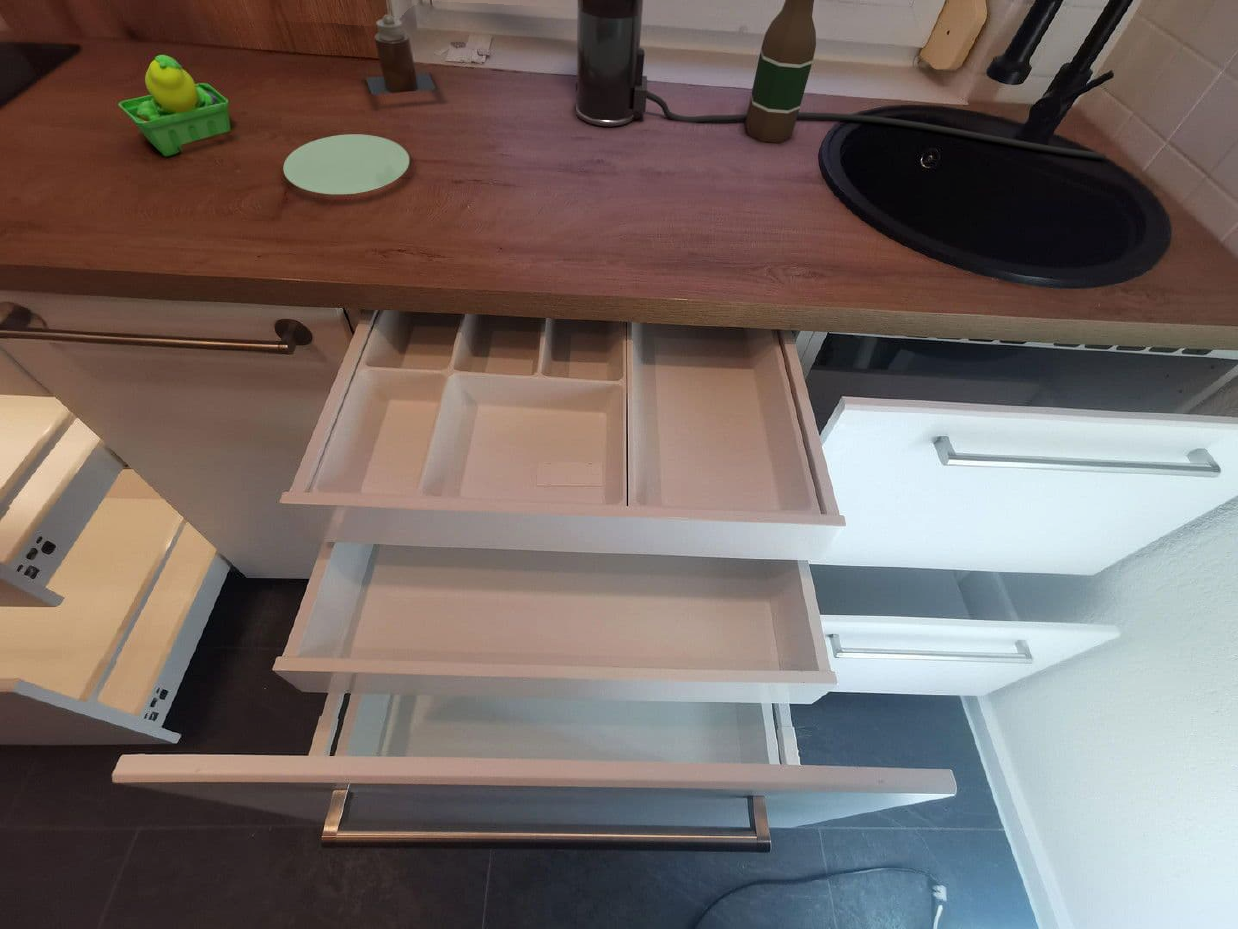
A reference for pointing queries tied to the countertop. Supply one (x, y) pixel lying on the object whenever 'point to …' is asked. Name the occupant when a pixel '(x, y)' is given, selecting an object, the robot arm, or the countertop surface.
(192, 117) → the fruit basket
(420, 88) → the mat
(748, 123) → the beer bottle
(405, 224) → the countertop surface
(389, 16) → the pepper mill
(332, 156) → the plate
